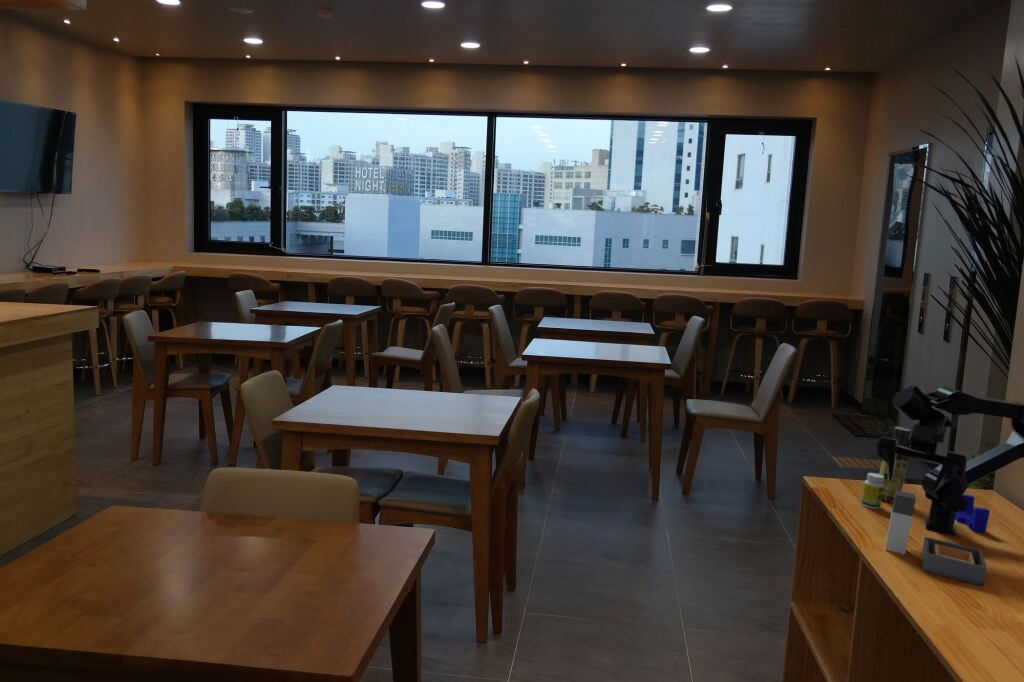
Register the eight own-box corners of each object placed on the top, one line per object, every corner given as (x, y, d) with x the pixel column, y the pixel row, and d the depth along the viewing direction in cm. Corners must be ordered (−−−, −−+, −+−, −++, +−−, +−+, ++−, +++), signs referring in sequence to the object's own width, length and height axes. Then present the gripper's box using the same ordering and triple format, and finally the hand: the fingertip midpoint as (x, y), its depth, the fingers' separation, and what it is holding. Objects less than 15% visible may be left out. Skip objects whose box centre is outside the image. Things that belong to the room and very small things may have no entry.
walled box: (921, 553, 183) (924, 536, 182) (978, 567, 178) (981, 550, 178) (922, 571, 173) (926, 553, 172) (982, 586, 168) (986, 567, 168)
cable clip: (949, 514, 214) (953, 492, 213) (968, 517, 213) (972, 495, 212) (965, 530, 202) (970, 507, 201) (985, 534, 201) (989, 510, 200)
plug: (885, 544, 186) (895, 490, 184) (904, 549, 184) (915, 494, 182) (885, 550, 183) (895, 494, 181) (904, 555, 181) (915, 499, 179)
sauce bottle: (877, 501, 218) (891, 429, 215) (871, 493, 224) (884, 423, 221) (903, 505, 217) (917, 432, 214) (896, 497, 223) (909, 427, 220)
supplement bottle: (878, 510, 210) (884, 479, 208) (859, 505, 212) (864, 474, 211) (881, 506, 214) (887, 475, 212) (862, 501, 216) (867, 470, 215)
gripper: (885, 403, 194) (867, 456, 187) (974, 421, 184) (958, 478, 177) (886, 430, 202) (869, 481, 195) (971, 448, 192) (956, 504, 184)
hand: (911, 485), depth 187 cm, fingers open, 9 cm apart
